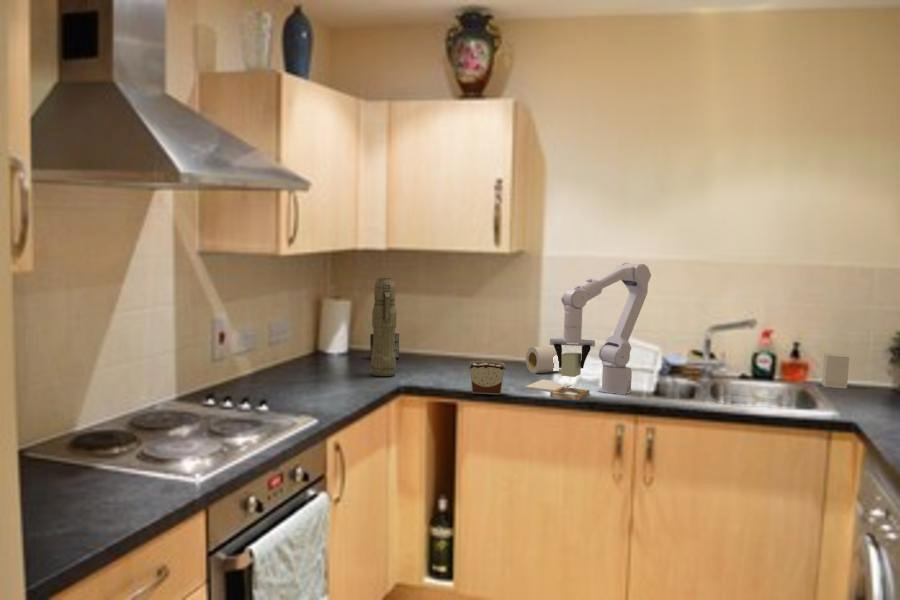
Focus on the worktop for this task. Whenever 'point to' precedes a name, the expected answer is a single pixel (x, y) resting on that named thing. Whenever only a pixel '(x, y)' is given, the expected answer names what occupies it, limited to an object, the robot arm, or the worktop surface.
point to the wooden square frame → (559, 394)
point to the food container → (487, 376)
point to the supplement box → (835, 370)
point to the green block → (571, 364)
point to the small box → (396, 349)
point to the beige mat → (544, 386)
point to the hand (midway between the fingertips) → (571, 367)
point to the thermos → (384, 328)
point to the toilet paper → (540, 359)
